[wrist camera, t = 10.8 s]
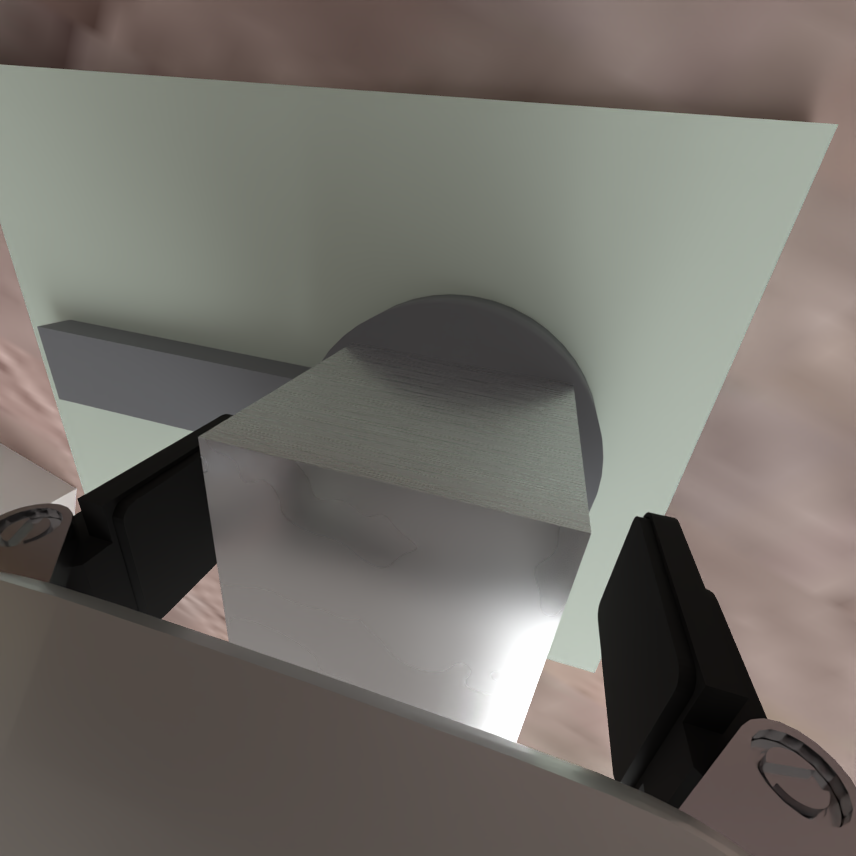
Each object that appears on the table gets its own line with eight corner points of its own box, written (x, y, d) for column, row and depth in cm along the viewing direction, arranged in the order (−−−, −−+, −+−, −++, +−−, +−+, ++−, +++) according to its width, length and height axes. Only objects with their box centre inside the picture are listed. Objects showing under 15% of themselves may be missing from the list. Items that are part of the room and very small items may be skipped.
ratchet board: (812, 132, 10) (1120, 28, 4) (592, 651, 18) (608, 831, 13) (-13, 70, 14) (-356, -20, 9) (111, 511, 22) (-28, 602, 17)
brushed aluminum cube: (573, 384, 11) (591, 533, 6) (523, 560, 14) (505, 771, 8) (352, 342, 12) (197, 436, 7) (347, 514, 15) (234, 676, 10)
